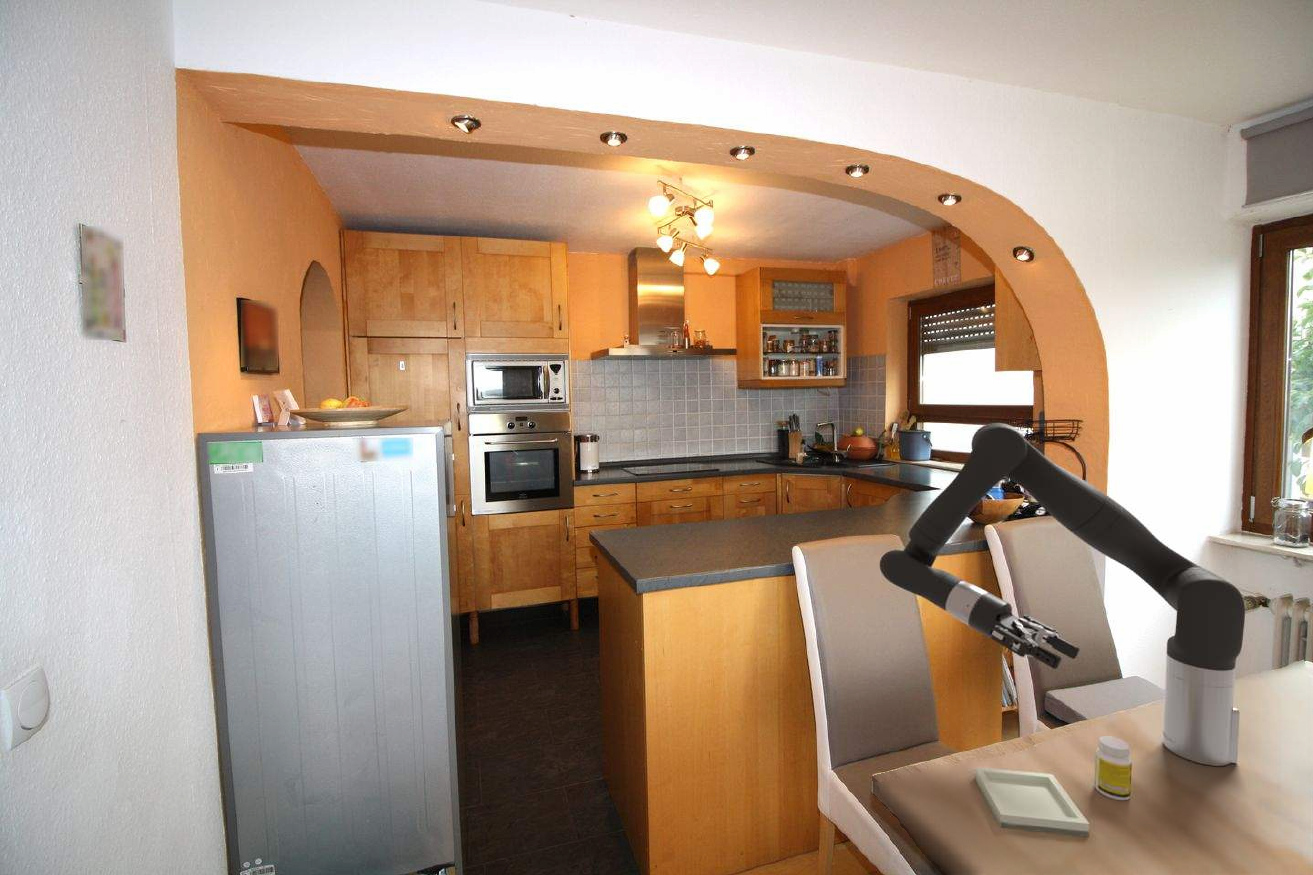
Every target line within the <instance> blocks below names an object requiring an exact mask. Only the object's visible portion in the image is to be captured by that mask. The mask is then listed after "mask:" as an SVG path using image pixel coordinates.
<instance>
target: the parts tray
mask: <svg viewBox="0 0 1313 875" xmlns="http://www.w3.org/2000/svg"><path fill="white" fill-rule="evenodd" d="M974 780H975V783H976V784H977V786H978V788H979V790H980V791H981V793H982V795H983V797H984V799H985V801H986V802H987V804H988V806H989V808H990V810H991V812H992V814H993V816H994V817H995V819H996V821H997V823H998V825H999V827H1000V828H1007V829H1014V830H1015V829H1017V830H1023V831H1034V832H1041V833H1044V832H1045V833H1049V834H1050V833H1052V834H1061V835H1070V836H1078V837H1087V838H1090V823H1089V821H1088V819H1087V818H1086V817H1085V816H1084V815H1083V813H1082V812H1081V811H1080V809H1079V808H1078V806H1076V804H1075V802H1074V801H1073V800H1072V799H1071V797H1070V796H1069V795H1068V793H1067V792H1066V791H1065V789H1064V788H1063V787H1062V785H1061V783H1059V781H1058V780H1057V779H1056V777H1055V776H1054V775H1053V774H1052V773H1045V772H1034V771H1033V772H1031V771H1023V770H1010V769H1000V768H989V767H979V766H974Z"/></svg>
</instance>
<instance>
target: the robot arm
mask: <svg viewBox="0 0 1313 875" xmlns="http://www.w3.org/2000/svg"><path fill="white" fill-rule="evenodd" d="M1005 477H1007V478H1008V479H1010V480H1011V481H1012V482H1014V483H1016V484H1017V485H1018V486H1019V487H1021V488H1023V489H1024V490H1025V491H1026V492H1027V493H1028V494H1029V495H1031V497H1032V498H1033V499H1034V500H1035V501H1036V502H1038V504H1039V505H1040V506H1041V507H1042V508H1043V509H1044V510H1045V511H1046V512H1047V513H1048V514H1050V516H1052V517H1053V518H1054V519H1055V520H1056V521H1057V522H1058V523H1060V525H1062V526H1063V527H1064V528H1066V529H1067V530H1068V531H1069V532H1071V533H1072V534H1073V535H1074V536H1076V537H1077V538H1079V539H1080V540H1081V541H1083V542H1084V543H1086V544H1087V545H1088V546H1090V547H1092V548H1093V550H1096V551H1097V552H1100V554H1103V555H1104V556H1105V557H1107V558H1109V559H1111V560H1113V561H1115V562H1117V563H1118V564H1121V565H1123V567H1125V568H1127V569H1129V571H1132V572H1133V573H1134V574H1135V575H1136V576H1138V577H1139V578H1140V579H1141V580H1142V581H1144V582H1145V583H1146V584H1147V585H1149V587H1151V589H1153V591H1154V592H1156V593H1157V594H1158V595H1159V596H1160V597H1161V598H1162V599H1164V600H1165V602H1166V603H1167V604H1168V605H1169V606H1170V607H1171V608H1172V609H1174V611H1176V620H1175V621H1176V622H1175V630H1174V631H1175V632H1174V635H1171V636H1170V637H1169V638H1168V639H1167V642H1166V659H1165V683H1164V684H1165V686H1164V689H1165V690H1164V712H1163V731H1162V732H1163V733H1162V734H1163V740H1162V741H1163V744H1164V746H1165V747H1166V749H1167V750H1169V751H1170V752H1171V753H1173V754H1176V755H1177V756H1179V757H1182V758H1183V759H1186V760H1188V761H1191V762H1194V763H1197V764H1202V765H1206V766H1215V767H1222V766H1227V765H1230V764H1238V761H1239V760H1238V759H1239V758H1238V757H1239V736H1240V716H1241V714H1240V713H1241V712H1240V710H1239V709H1238V708H1236V707H1235V706H1234V703H1235V702H1234V701H1235V700H1234V699H1235V682H1236V680H1235V679H1236V678H1235V677H1236V661H1237V658H1238V656H1239V655H1240V654H1241V652H1242V647H1243V639H1244V632H1245V631H1244V630H1245V621H1246V620H1245V617H1246V605H1245V604H1246V603H1245V600H1244V597H1243V595H1242V593H1241V591H1240V590H1239V589H1238V588H1237V587H1236V586H1235V585H1234V584H1233V583H1231V582H1229V581H1227V580H1226V579H1224V578H1223V577H1220V576H1219V575H1217V574H1215V573H1213V572H1212V571H1210V570H1208V569H1206V568H1203V566H1200V565H1198V564H1197V563H1195V562H1192V561H1191V560H1189V559H1188V558H1186V557H1185V556H1183V555H1181V554H1180V553H1178V552H1176V551H1175V550H1173V549H1172V548H1170V547H1169V546H1167V545H1166V544H1164V543H1163V542H1162V541H1160V540H1159V539H1158V538H1157V537H1156V536H1155V535H1154V534H1153V533H1152V532H1151V531H1150V530H1149V528H1147V527H1146V526H1145V525H1144V524H1143V523H1142V522H1141V521H1140V520H1139V518H1137V517H1136V516H1135V515H1134V514H1132V513H1131V512H1130V511H1129V510H1127V509H1126V508H1125V507H1123V505H1121V504H1120V503H1119V502H1118V501H1116V500H1114V499H1113V498H1111V497H1110V496H1109V495H1107V494H1106V493H1104V492H1103V491H1101V490H1100V489H1098V488H1097V487H1095V486H1094V485H1092V484H1091V483H1089V482H1087V481H1086V480H1084V479H1082V478H1080V477H1079V476H1077V475H1076V474H1074V473H1072V472H1070V471H1068V470H1067V469H1065V468H1063V467H1061V465H1058V464H1056V463H1054V461H1052V460H1050V458H1048V457H1046V456H1045V455H1044V454H1043V453H1041V452H1040V451H1039V450H1038V448H1036V447H1034V446H1033V444H1031V443H1030V442H1029V441H1028V440H1027V439H1025V438H1024V436H1023V435H1022V433H1021V432H1020V431H1018V430H1017V429H1016V428H1015V427H1013V426H1012V425H1010V424H1007V423H1003V422H993V423H987V424H985V425H983V426H981V427H979V428H978V429H977V430H976V431H975V432H974V435H973V436H972V440H971V452H970V453H969V455H968V457H967V459H966V461H965V462H964V465H963V466H962V467H961V470H960V471H959V472H958V473H957V475H956V476H955V477H954V479H953V480H952V481H951V482H950V484H948V486H947V487H946V488H945V489H943V490H942V491H941V493H940V494H939V495H937V497H936V498H935V499H933V501H932V502H931V503H930V504H929V505H928V506H927V507H926V509H925V510H924V511H923V512H922V513H921V515H919V517H918V518H917V520H916V522H914V524H913V525H912V527H911V528H910V530H909V532H908V537H909V539H910V540H909V541H908V543H907V545H906V547H905V548H904V549H903V550H900V549H892V550H889V551H887V552H886V553H884V554H883V555H882V556H881V558H880V561H879V569H880V572H881V574H882V576H883V577H884V578H885V579H886V580H887V581H888V582H890V583H891V584H893V585H895V586H896V587H899V588H901V589H903V590H905V591H908V592H910V593H912V594H915V595H916V596H919V597H921V598H924V599H925V600H927V601H929V602H930V603H932V604H933V605H935V606H937V607H938V608H940V609H941V610H942V611H943V610H944V611H945V612H947V613H948V614H950V615H951V616H953V617H954V618H955V619H957V620H958V621H960V622H962V623H964V624H965V625H967V626H968V627H970V628H972V629H973V630H975V631H977V632H979V633H981V635H984V636H986V637H988V638H989V639H992V641H995V642H996V643H998V644H1000V645H1001V646H1003V647H1004V648H1005V649H1007V650H1009V651H1010V652H1013V653H1014V654H1016V655H1017V656H1019V657H1021V658H1025V656H1027V657H1029V658H1034V659H1036V660H1038V661H1039V662H1041V663H1043V664H1044V665H1046V666H1048V667H1050V668H1052V669H1054V670H1055V669H1058V668H1059V666H1060V664H1061V662H1062V657H1061V656H1059V655H1058V654H1056V653H1054V652H1052V651H1050V650H1048V649H1047V648H1045V647H1044V646H1041V645H1045V646H1048V647H1051V648H1052V649H1054V650H1055V651H1057V652H1059V653H1061V654H1063V655H1065V656H1066V657H1067V658H1070V659H1073V660H1074V659H1077V657H1078V656H1079V653H1080V652H1081V650H1080V647H1078V646H1077V645H1075V644H1073V643H1071V642H1069V641H1068V640H1065V639H1063V637H1062V638H1061V637H1060V636H1059V635H1058V634H1059V630H1057V629H1056V628H1054V627H1051V626H1050V625H1047V624H1046V623H1043V622H1042V621H1040V620H1038V619H1036V618H1034V617H1032V616H1030V615H1028V614H1024V615H1023V617H1018V616H1015V615H1014V614H1013V613H1012V612H1013V607H1012V604H1010V602H1008V601H1006V600H1003V599H1001V598H1000V597H998V596H996V595H994V594H992V593H990V592H988V591H986V590H985V589H983V588H981V587H979V586H977V585H975V584H972V583H969V582H967V581H965V580H963V579H961V578H960V577H958V576H956V575H953V574H951V573H950V572H948V571H946V570H942V569H939V568H934V567H933V564H934V563H935V561H936V559H937V556H938V554H939V553H940V551H941V549H942V548H943V547H944V546H945V545H946V544H947V542H948V541H949V540H950V539H951V537H952V536H953V535H954V534H955V533H956V531H957V530H958V529H959V527H960V526H961V525H962V524H963V523H964V521H965V520H966V519H967V517H968V516H969V514H970V513H971V512H973V509H974V508H976V506H977V505H978V503H979V502H981V500H982V499H983V498H984V497H985V496H986V495H987V494H988V493H989V492H990V491H991V490H992V489H993V488H994V487H995V486H996V485H997V484H998V483H999V482H1000V481H1002V480H1003V479H1004V478H1005Z"/></svg>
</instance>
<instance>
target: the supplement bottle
mask: <svg viewBox="0 0 1313 875" xmlns="http://www.w3.org/2000/svg"><path fill="white" fill-rule="evenodd" d="M1130 754H1131V752H1130V746H1129V744H1128V742H1126V741H1125V740H1122V739H1120V738H1118V737H1115V736H1110V735H1104V736H1100V737H1099V738H1098V748H1096V750H1095V761H1094V762H1095V763H1094V764H1095V765H1094V787H1095V789H1096V790H1097V791H1098V792H1099V793H1100V794H1102V795H1103V796H1105V797H1106V798H1108V799H1109V798H1110V799H1112V800H1117V801H1126V800H1129V799H1131V794H1132V793H1131V790H1132V766H1133V763H1132V758H1131V757H1130Z"/></svg>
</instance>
